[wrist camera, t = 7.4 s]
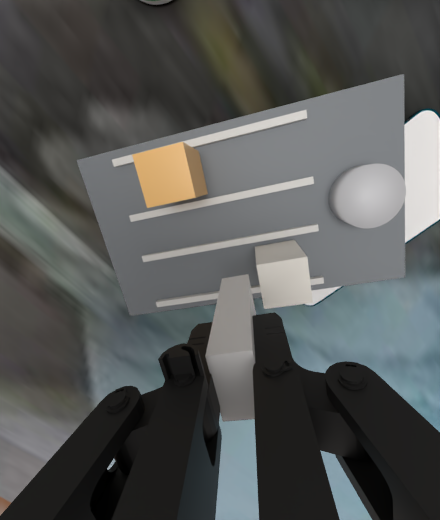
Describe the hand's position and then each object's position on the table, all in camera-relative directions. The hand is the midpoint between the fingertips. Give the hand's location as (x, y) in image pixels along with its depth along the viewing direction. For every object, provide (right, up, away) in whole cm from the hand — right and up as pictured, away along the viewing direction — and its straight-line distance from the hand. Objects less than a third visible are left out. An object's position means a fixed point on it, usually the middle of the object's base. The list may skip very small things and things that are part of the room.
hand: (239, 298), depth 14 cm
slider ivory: (+3, +2, +5) cm, 7 cm away
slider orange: (-4, +8, +4) cm, 10 cm away
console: (+1, +6, +7) cm, 9 cm away
